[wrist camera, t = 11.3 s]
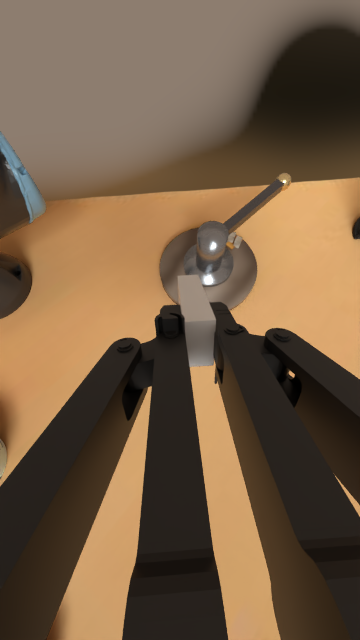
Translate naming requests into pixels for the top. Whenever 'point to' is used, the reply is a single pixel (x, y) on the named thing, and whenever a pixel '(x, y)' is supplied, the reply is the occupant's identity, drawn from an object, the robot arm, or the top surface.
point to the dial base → (226, 292)
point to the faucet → (224, 239)
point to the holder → (356, 230)
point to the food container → (2, 457)
